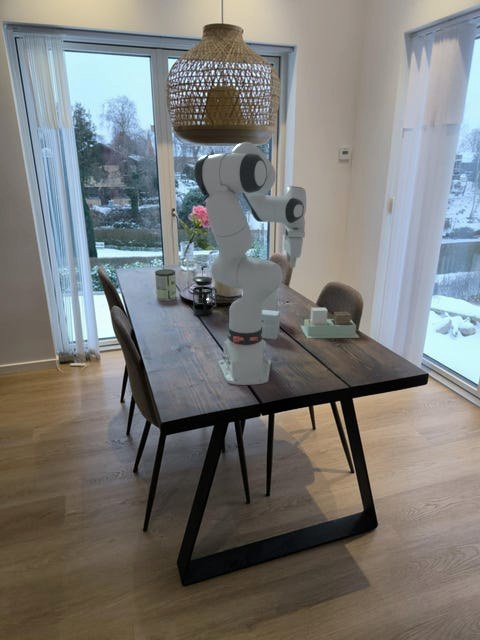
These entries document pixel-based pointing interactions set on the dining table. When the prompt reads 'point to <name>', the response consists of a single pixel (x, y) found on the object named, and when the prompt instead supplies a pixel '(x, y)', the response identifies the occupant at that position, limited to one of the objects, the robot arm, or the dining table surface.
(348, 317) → the walnut block
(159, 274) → the coffee can
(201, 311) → the french press
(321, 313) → the plug block
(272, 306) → the milk bottle
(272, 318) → the small box
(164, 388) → the dining table surface
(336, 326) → the dock
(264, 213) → the robot arm
